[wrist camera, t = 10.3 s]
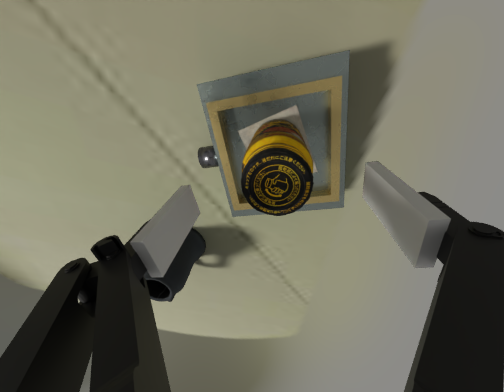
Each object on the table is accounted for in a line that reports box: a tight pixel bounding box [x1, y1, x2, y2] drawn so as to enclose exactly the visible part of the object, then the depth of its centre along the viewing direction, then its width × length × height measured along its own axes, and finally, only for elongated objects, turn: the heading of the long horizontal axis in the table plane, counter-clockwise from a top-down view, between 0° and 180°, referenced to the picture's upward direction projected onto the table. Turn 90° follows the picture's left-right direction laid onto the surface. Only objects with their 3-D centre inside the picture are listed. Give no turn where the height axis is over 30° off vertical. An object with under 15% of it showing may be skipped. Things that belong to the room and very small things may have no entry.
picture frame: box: [197, 50, 350, 217], centre depth 27 cm, size 18×19×6 cm
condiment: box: [238, 105, 317, 216], centre depth 20 cm, size 7×8×12 cm
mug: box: [144, 228, 206, 302], centre depth 37 cm, size 12×9×11 cm
